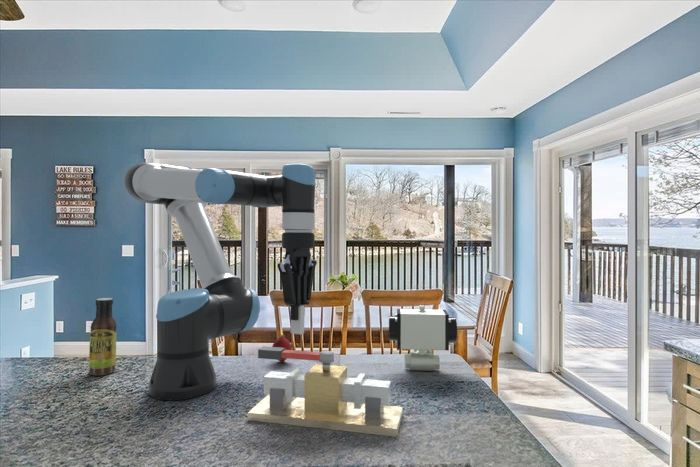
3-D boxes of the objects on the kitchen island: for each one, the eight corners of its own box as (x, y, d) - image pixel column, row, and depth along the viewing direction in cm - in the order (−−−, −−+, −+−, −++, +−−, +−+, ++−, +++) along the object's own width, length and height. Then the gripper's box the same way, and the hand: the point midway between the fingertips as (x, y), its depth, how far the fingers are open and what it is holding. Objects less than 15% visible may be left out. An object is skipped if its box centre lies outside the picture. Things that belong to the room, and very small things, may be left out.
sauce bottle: (85, 377, 109) (85, 301, 109) (93, 370, 115) (93, 297, 115) (112, 375, 111) (112, 300, 111) (119, 368, 117) (119, 296, 117)
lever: (335, 359, 87) (335, 350, 87) (331, 364, 84) (331, 355, 84) (263, 354, 91) (263, 346, 91) (257, 358, 88) (257, 349, 88)
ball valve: (452, 365, 120) (452, 302, 119) (457, 375, 111) (457, 308, 111) (389, 363, 121) (389, 301, 121) (388, 373, 113) (388, 307, 113)
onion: (282, 366, 118) (282, 338, 118) (267, 363, 122) (267, 335, 122) (295, 361, 123) (295, 333, 123) (281, 358, 126) (281, 331, 126)
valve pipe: (247, 420, 85) (247, 364, 85) (268, 400, 94) (268, 350, 94) (396, 436, 78) (396, 376, 78) (402, 414, 87) (402, 360, 87)
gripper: (300, 231, 105) (299, 325, 105) (267, 231, 93) (266, 337, 94) (326, 231, 102) (325, 329, 102) (295, 231, 90) (294, 341, 90)
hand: (297, 333), depth 98 cm, fingers closed
